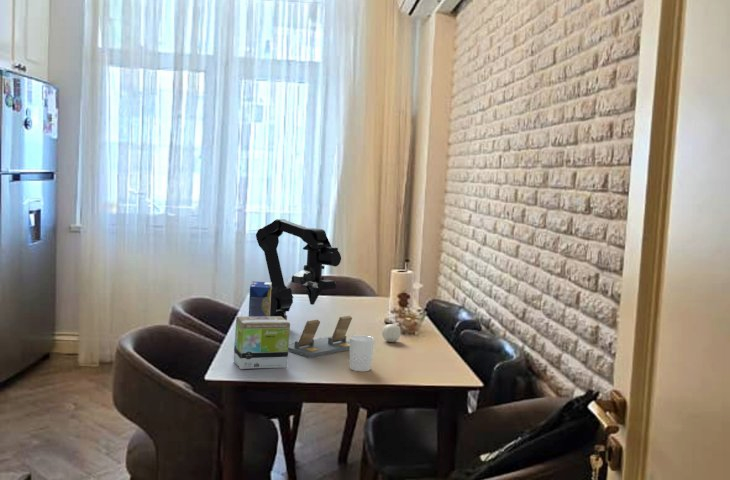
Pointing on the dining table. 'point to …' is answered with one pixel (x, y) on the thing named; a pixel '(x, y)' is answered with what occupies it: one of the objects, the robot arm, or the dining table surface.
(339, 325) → the lever
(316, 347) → the twin lever plate
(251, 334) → the tea box
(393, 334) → the baseball
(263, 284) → the beverage box
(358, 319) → the dining table surface
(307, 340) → the lever
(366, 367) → the white cup
